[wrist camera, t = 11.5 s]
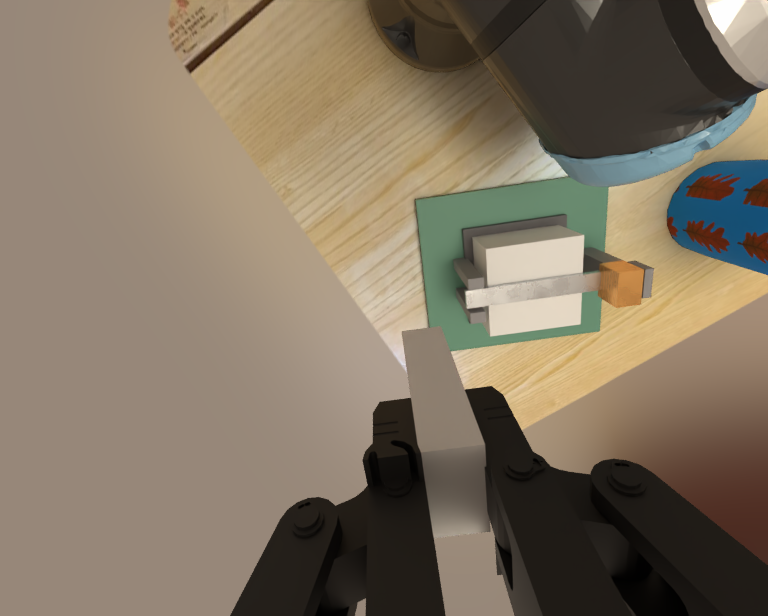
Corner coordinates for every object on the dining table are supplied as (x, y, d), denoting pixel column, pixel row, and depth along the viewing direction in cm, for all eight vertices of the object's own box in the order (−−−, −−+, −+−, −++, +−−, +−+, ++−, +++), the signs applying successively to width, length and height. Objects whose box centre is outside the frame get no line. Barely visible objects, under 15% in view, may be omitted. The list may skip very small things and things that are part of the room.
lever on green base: (415, 199, 47) (426, 212, 36) (604, 171, 46) (670, 176, 36) (431, 350, 54) (444, 396, 44) (595, 328, 53) (648, 370, 43)
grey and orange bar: (463, 282, 42) (472, 293, 38) (621, 259, 41) (644, 269, 38) (466, 313, 43) (474, 327, 40) (619, 292, 43) (640, 304, 39)
